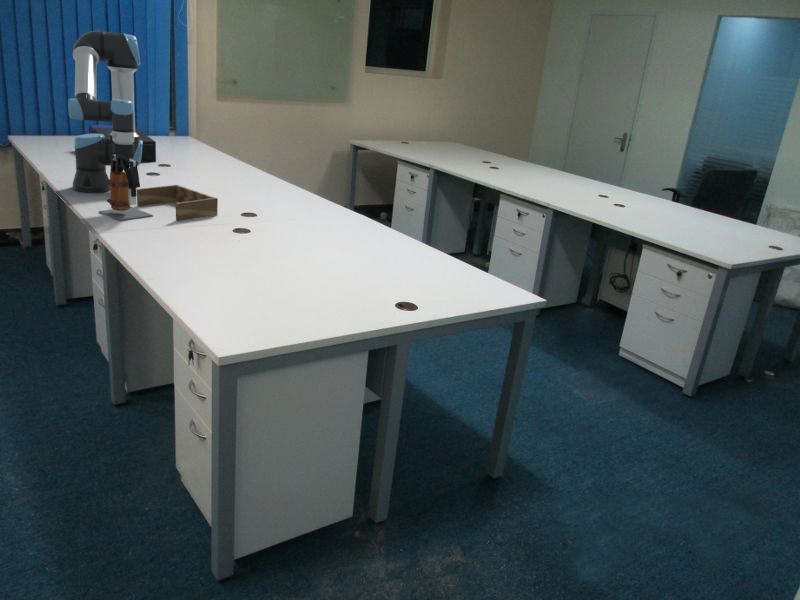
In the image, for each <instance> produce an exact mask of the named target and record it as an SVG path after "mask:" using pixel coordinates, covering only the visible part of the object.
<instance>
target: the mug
mask: <svg viewBox="0 0 800 600" xmlns="http://www.w3.org/2000/svg"><path fill="white" fill-rule="evenodd" d="M107 183H108V184H109V185H110V191H109V192H110V198H108V199H106V202H107V203H109V205H110V208H111V210H112V209H114V210H118V211H125V210H128V209H129V208H130V207H131V205H129V195H128V187H130V186H129V183H128V179H127V174H126V172H125V171H123V172H119V171H115V172H111V173H109V180H108V181H107Z"/></svg>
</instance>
